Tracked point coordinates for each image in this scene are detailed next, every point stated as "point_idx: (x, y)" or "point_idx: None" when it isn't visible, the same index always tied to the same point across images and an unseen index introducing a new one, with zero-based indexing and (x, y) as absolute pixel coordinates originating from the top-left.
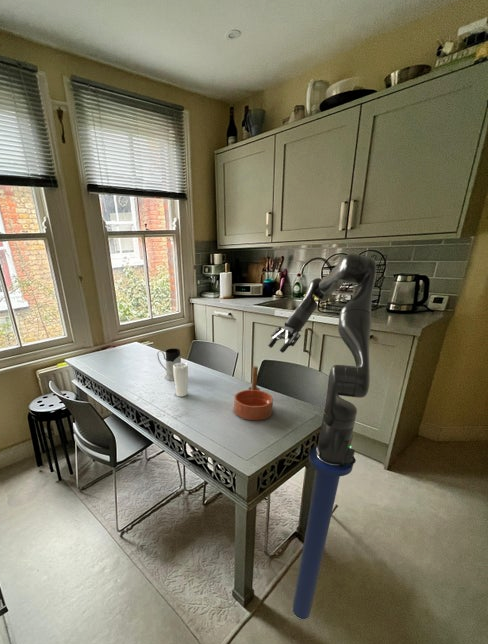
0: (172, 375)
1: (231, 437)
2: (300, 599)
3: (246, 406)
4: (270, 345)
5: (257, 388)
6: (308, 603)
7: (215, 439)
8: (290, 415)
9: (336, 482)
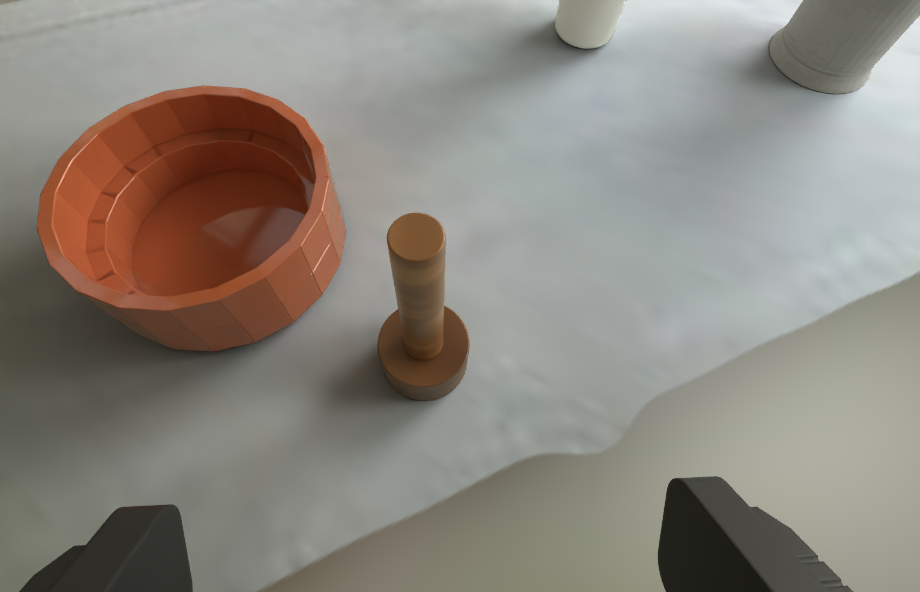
0: (794, 14)
1: (98, 68)
2: None
3: (128, 106)
4: (685, 532)
5: (423, 373)
6: None
7: (131, 20)
8: (32, 435)
9: None
